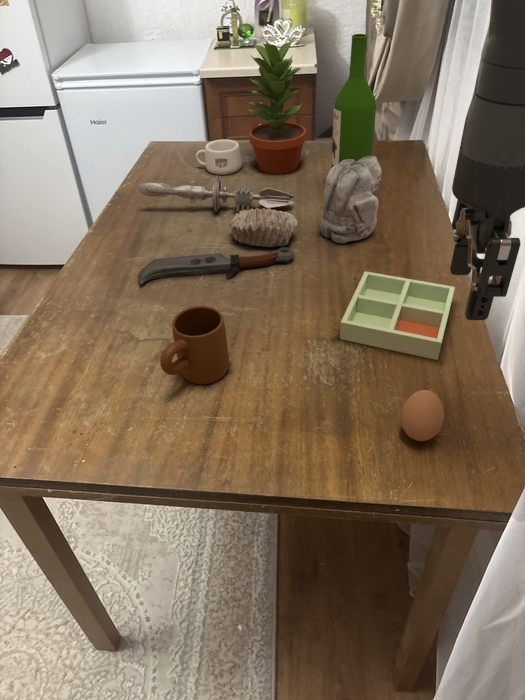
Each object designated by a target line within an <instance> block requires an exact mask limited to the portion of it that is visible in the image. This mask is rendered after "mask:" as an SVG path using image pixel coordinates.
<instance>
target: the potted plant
mask: <svg viewBox="0 0 525 700" xmlns="http://www.w3.org/2000/svg"><path fill="white" fill-rule="evenodd" d="M293 41H294V37H293V38H292V39H291V41H288V42H285V43H283V44H282V45H281V47H280V48H279V49H278V47H277V46H276V45H275V44H271V43H269V42H268V41H267V40H265V43H264V44H263V45H260V44H255V42H252V43H253V46H254V48H255V50H256V51H257V52H258V54H259V55H260V57H254V56H252V55H250V57H251V58H252V59H253V61H254V62H255V63H256V64H257V65H258V66H259V67H258V72H259V75H260V77H261V79H262V80H261V79H251V78H250V77H249V80H250V81H251V82H252V83H253V84H255V85H256V87H259V88H260V89H261V90H262V91H260V90H258V89H252V90H249V89H248V91H249V92H251V93H252V94H254V95H257V96H260V97H261V98H263V99H265V100H267V101H269V103H270V104H269V105H270V106H268V105H266V104H264V103H261V102H258V101H250V102H249V101H246V103H248V104H250V105H252V106H253V107H256V108H257V109H256V108H255V109H250V108H247V110H248V111H249V112H250V113H251V114H252V115H253V114H254V115H255V116H257V117H259V118H261V119H263V120H265V121H267V122H266V123H265V122H264V123H260V124H258V125H255V126H253V127H252V128H250V129H249V131H248V138H249V144H251V147H252V149H253V152H254V155H255V159H256V161H257V165H258V168H259V169H260V171H262V172H264V173H268V174H272V175H273V174H274V175H281V174H287V173H291V172H293V171H295V170H296V169H297V168H298V166H299V163H300V159H301V155H302V150H303V147H304V144H305V142H306V141H307V128H306V127H305V126H303V125H301V124H300V123H295V122H291V121H290V122H289V119H290V118H292V117H293V116H294V115H295V114H296V113H297V112H299V110H300V109H301V106H302V105H303V103H300V104H299V105H292V106H291V107H288V108H287V109H286V110H285V111H284V107H285V104H286V103H287V102H288V101H289V100H291V98H293V97H294V96H296V94H297V93H299V92H300V91H301V89H299V90H298V89H297V90H294V91H293V92H292V93H289V92H290V90H289V87H290V85H291V82H292V80H293V76H294V75H295V74H296V73H298V72H299V71H301V69H303V68H304V66H302V67H295V68H293V69H292V67H293V66H292V64H293V62H294V60H293V55H291V56H290V58H285V56H286V55H287V53H288V52H289V49H290V47H291V46H292V44H293ZM284 58H285V59H284Z"/></svg>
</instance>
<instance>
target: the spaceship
mask: <svg viewBox="0 0 525 700" xmlns="http://www.w3.org/2000/svg"><path fill="white" fill-rule="evenodd" d="M241 181H242V183H241ZM246 182H247V187H246ZM241 184H242V186H241ZM236 185H237V186H236V189H235V190H234V192H229V191H228V186H223V187H222V182H221V179H220V176H219V175H216V176H215V180H214V181H213V184H212V189H210V188H209V187H208V186H204V185H203V186H202V185H197V182H196V181H195V180H190V181H189V184H186V185H180V186H176V187H175V186H170V185H168V184H166V183H164V182H152V181H151V182H144V183H140V184H139V185H138V186H137V191H138V192H139V193H141V195H145V196H148V197H156V198H157V197H158V198H159V197H160V198H165V197H167V196H171V195H172V196H177V197H180V198H184V199H186V200H187V199H188V200H189V203H190V204H195V203H196V202H197V200H201V201H207V200H208V199H209V198H211V200H212V201H211V203H212V206H213V210H214V212H215V213H218V211H219V210H220V206H221V200H222V203H223V204H226V203H227V201H228V198H229V199H230V198H233V199H234V201H235V204H236V205H235V207H236V210H235V211H236V212H240V211H243V210H250V206H251V203H252V202H253V201H254V200H255V201H258V204H259V205H261V206H263V208H265V209H269V208H270V209H272V208H273V209H274V208H279V207H285V206H290V205H293V204H294V200H291V199H294V198H295V195H293V194H291V193H287V192H285V191H282V190H280V189H279V190H278V189H275V188H272V187H267V188H264V189H261V190H259V193H254V191H252V187H251V186H252V181H251V180H249V179H248V180H247V181H246V180H245V179H242V180H241V179H238V180H237V184H236ZM245 205H246V207H245ZM240 206H241V208H240Z"/></svg>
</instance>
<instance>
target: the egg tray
mask: <svg viewBox="0 0 525 700" xmlns="http://www.w3.org/2000/svg"><path fill="white" fill-rule="evenodd" d="M455 289H456V287H455V286H451V285H446V284H440V283H435V282H429V281H423V280H417V279H411V278H407V277H402V276H394V275H388V274H384V273H377V272H373V271H366V270H365V271H364V272H363V274H362V276H361V278H360V280H359V283H358V285H357V287H356V289H355V291H354V293H353V294H352V297H351V300H350V301H349V304H348V306H347V308H346V310H345V312H344V314H343V317H342V319H341V321H340V328H339V340H342V341H347V342H352V343H356V344H361V345H366V346H369V347H370V346H371V347H375V348H380V349H384V350H389V351H392V352H397V353H403V354H407V355H410V356H411V355H412V356H415V357H422V358H426V359H431V360H435V361H438V360H439V357H440V352H441V348H442V344H443V339H444V336H445V331H446V327H447V323H448V319H449V315H450V310H451V306H452V303H453V297H454V293H455Z"/></svg>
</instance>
